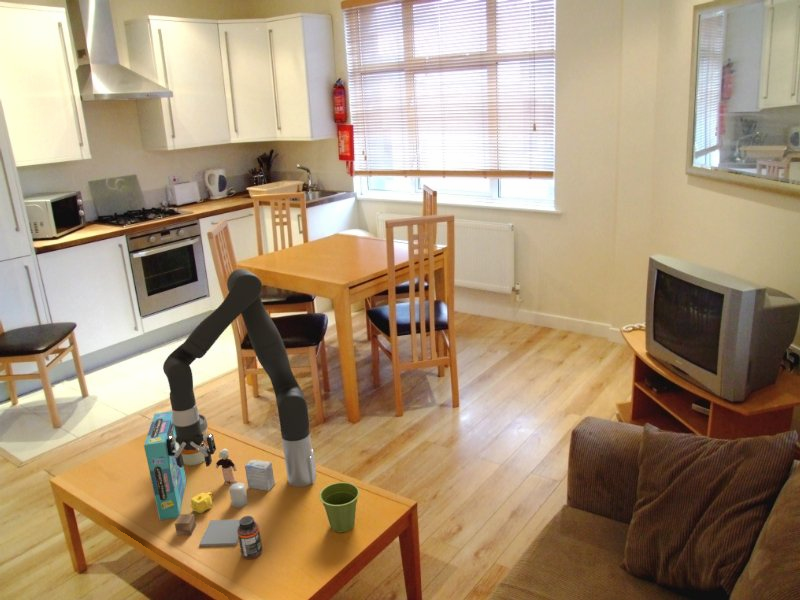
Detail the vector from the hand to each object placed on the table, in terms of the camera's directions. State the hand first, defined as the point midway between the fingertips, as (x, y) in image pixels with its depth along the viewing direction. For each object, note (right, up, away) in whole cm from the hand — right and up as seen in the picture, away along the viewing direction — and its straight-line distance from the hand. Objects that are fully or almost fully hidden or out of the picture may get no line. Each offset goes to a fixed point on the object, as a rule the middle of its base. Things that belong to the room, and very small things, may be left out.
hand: (194, 465), depth 207 cm
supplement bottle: (+21, -21, -16) cm, 34 cm away
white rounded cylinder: (+12, -14, +7) cm, 20 cm away
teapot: (+1, -16, +5) cm, 17 cm away
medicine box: (+18, -11, +16) cm, 26 cm away
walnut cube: (-1, -19, -4) cm, 19 cm away
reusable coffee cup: (-11, -6, +35) cm, 37 cm away
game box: (-11, -14, +11) cm, 21 cm away
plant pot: (+47, -16, -7) cm, 50 cm away
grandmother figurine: (+6, -11, +19) cm, 23 cm away
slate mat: (+11, -19, -7) cm, 23 cm away
